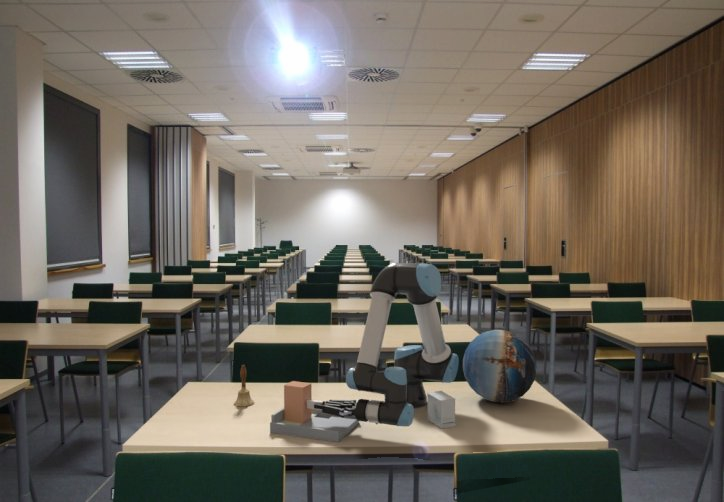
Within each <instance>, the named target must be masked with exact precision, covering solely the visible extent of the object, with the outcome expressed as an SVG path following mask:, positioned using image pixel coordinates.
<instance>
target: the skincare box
mask: <svg viewBox="0 0 724 502" xmlns="http://www.w3.org/2000/svg"><path fill="white" fill-rule="evenodd" d="M426 396H427V420H428V421H429V422H430V423H432V424H434V425H435V426H437V427H438V428H440V429H444V428H445V429H446V428H452V427H456V398H455V397H453V396H451V395H449V394H448V393H446V392H445V391H443V390H437V391H431V392H427V394H426Z"/></svg>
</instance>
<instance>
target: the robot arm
mask: <svg viewBox="0 0 724 502" xmlns="http://www.w3.org/2000/svg"><path fill="white" fill-rule="evenodd" d="M441 282H442V276H441V273H440V270H439V269H438V267H437V266H435V265H434V264H431V263H425V262H421V263H410V262H409V263H408V262H407V263H406V262H393V263H391V264H388V265H387V266H385V267H384V268H383V269H382V270H381V271H380V272H379V273H378V275H377V276H376V277H375V279H374V281H373V283H372V285H371V288H370V293H369V296H370V298H371V301H370V305H369V309H368V313H367V317H366V323H365V326H364V331H363V335H362V338H361V344H360V348H359V350H358V351H359V352H358V356H357V361H356V365H355V367H350V368H349V369H348V371H347V373H346V375H345V384H346V385H347V387H348V388H349V389H351V390H356V391H359V392H366V393H367V392H368V393H373V394H379V395H383V396H384V400H376V399H365V398H359V399H358V400H356V399H353V400H352V399H350V400H348V399H329V400H326V401H324V400H316V399H315V400H314V399H312V400H307V408H310V409H319V410H322V412H323V413H327V414H331V415H336V416H339V417H342V418H344V417H345V415H347V416H352V415H355V417H356V419H357V420H358V421H359V422H366V423H367V422H368V423H374V424H376V425H378V424H381V425H382V424H383V425H388V426H396V427H410V426H411V425H412V424H413V421H414V416H415V410H414V408H418V407H423V406H425V405H427V404H428V398H427V394H426V391H425V388H424V384H423V380H425V381H432V382H437V383H443V384H444V383H447V384H449V383H450V384H451V383H453V382H454V381H455V379H456V377H457V374H458V370H459V365H460V363H459V362H460V360H459V356H458V354H457V353H452V350H451V347H450V346H449V344H446V341H445V336H444V332H443V328H442V327H443V326H442V323H441V319H440V318H441V317H440V314H439V310H438V306H437V302H436V301H437V299H438V296H439V294H440V293H441V290H442V283H441ZM397 295H405V296H406V299H407V301H408V303H409V304H411V305H412V307H413V309H414V315H415V318H416V322H417V326H418V329H419V334H420V338H421V343H422V345H418V344H417V345H416V344H414V345H412V344H411V345H404V346H401V347H397V348H396V349H395V351H394V358H393V360H394V361H393V362H394V363H393V365H394V366H389V367H386V368H385V369H384V371H381V370H379V371H378V365H379V360H380V355H381V352H382V347H383V342H384V339H385V338H384V337H385V334H386V330H387V325H388V320H389V317H390V312H391V306H392V303H393V302H395V301H396V297H397Z"/></svg>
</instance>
